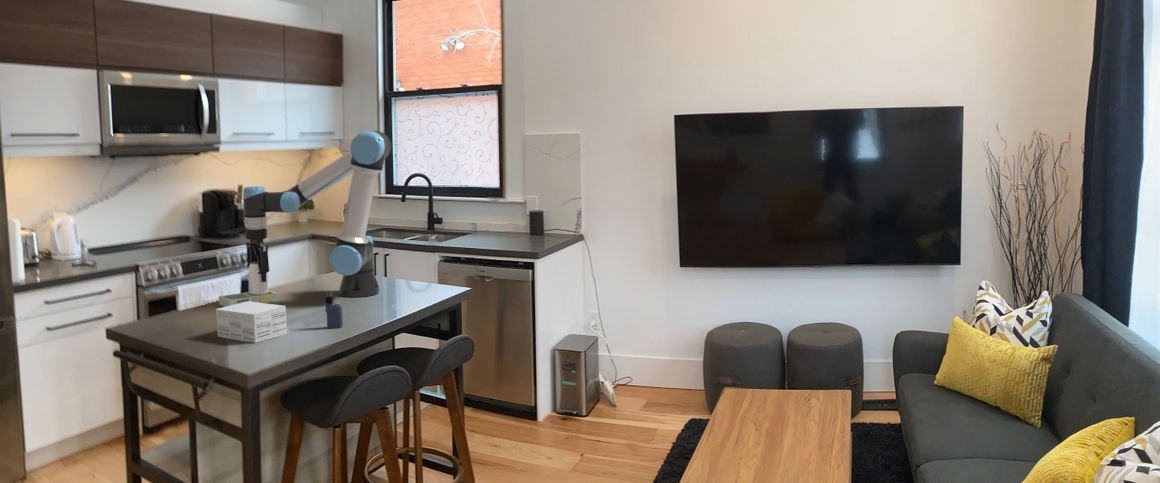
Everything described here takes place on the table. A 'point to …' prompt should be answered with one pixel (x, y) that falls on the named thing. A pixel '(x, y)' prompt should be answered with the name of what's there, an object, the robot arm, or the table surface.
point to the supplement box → (251, 321)
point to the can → (255, 279)
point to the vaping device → (333, 312)
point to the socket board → (247, 298)
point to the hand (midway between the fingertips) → (259, 288)
